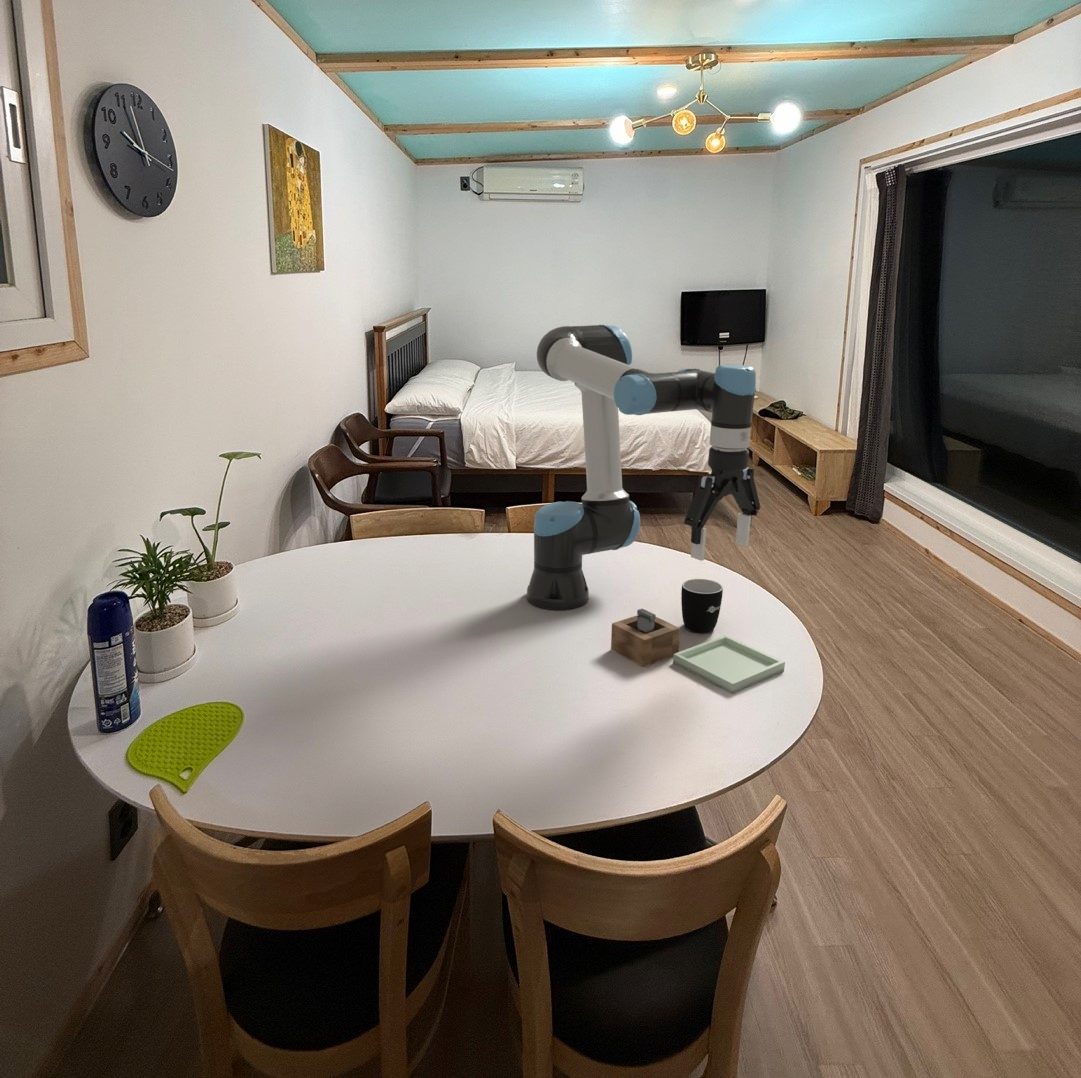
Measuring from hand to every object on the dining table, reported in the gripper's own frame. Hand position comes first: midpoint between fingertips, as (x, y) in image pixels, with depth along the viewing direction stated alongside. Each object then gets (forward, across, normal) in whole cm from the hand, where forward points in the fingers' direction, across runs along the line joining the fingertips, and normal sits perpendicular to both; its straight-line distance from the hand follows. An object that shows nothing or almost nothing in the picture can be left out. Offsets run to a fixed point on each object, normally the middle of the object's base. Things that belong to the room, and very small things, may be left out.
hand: (720, 551), depth 161 cm
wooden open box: (+23, -10, +9) cm, 27 cm away
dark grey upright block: (+23, -10, +9) cm, 27 cm away
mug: (+23, +10, +11) cm, 27 cm away
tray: (+23, -2, -6) cm, 24 cm away
